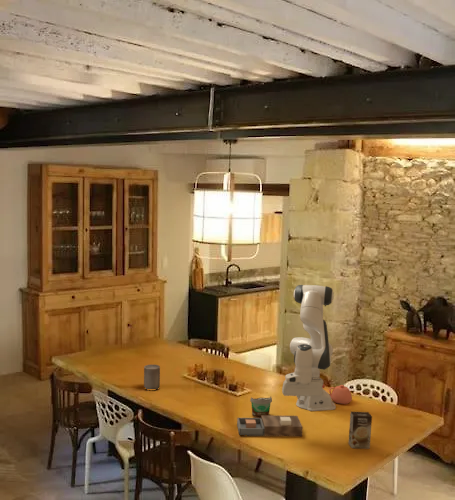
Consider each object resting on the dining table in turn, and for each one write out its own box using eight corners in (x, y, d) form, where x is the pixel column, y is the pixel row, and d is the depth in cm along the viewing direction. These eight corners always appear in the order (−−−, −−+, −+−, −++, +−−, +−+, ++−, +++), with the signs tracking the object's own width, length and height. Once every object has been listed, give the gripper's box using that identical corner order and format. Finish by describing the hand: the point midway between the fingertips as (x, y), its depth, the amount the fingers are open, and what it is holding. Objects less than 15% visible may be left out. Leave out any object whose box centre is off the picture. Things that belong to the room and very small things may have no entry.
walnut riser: (296, 425, 313) (297, 415, 312) (302, 436, 298) (302, 426, 297) (260, 424, 312) (261, 415, 311) (264, 436, 297) (264, 426, 296)
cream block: (289, 421, 303) (289, 416, 303) (291, 425, 298) (291, 420, 298) (279, 421, 303) (279, 416, 303) (281, 425, 298) (281, 420, 298)
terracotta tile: (245, 419, 309) (245, 424, 309) (246, 423, 304) (246, 427, 304) (254, 419, 309) (254, 424, 310) (256, 423, 304) (255, 427, 305)
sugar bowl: (351, 406, 344) (352, 389, 343) (327, 404, 347) (328, 387, 346) (351, 399, 356) (352, 382, 355) (328, 397, 359) (328, 380, 358)
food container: (253, 419, 319) (253, 401, 318) (249, 415, 325) (250, 397, 324) (274, 417, 322) (275, 399, 321) (270, 413, 328) (271, 395, 327)
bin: (260, 424, 312) (261, 417, 311) (264, 436, 297) (264, 429, 296) (237, 424, 311) (237, 417, 310) (239, 435, 296) (239, 428, 296)
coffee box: (351, 448, 285) (353, 416, 284) (348, 443, 291) (349, 411, 290) (370, 448, 285) (372, 416, 284) (366, 443, 292) (368, 411, 290)
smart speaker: (161, 386, 369) (161, 362, 368) (157, 391, 359) (158, 367, 358) (145, 385, 370) (146, 362, 369) (142, 390, 360) (142, 366, 359)
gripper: (322, 375, 303) (320, 402, 304) (282, 375, 302) (281, 401, 303) (324, 379, 297) (323, 406, 298) (284, 378, 295) (282, 405, 296)
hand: (301, 404), depth 300 cm, fingers closed
